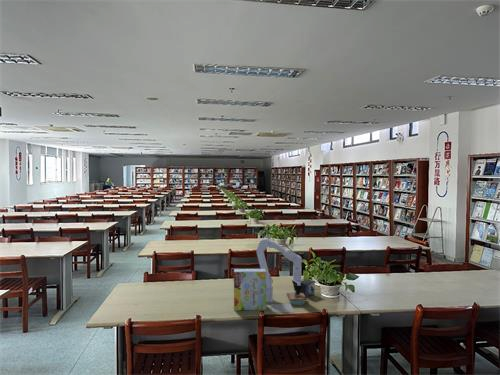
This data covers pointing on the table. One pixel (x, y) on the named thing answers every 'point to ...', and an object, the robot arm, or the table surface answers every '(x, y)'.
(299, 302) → the bowl
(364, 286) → the table surface
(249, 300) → the snack box
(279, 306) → the mat
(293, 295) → the cover
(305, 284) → the small box
